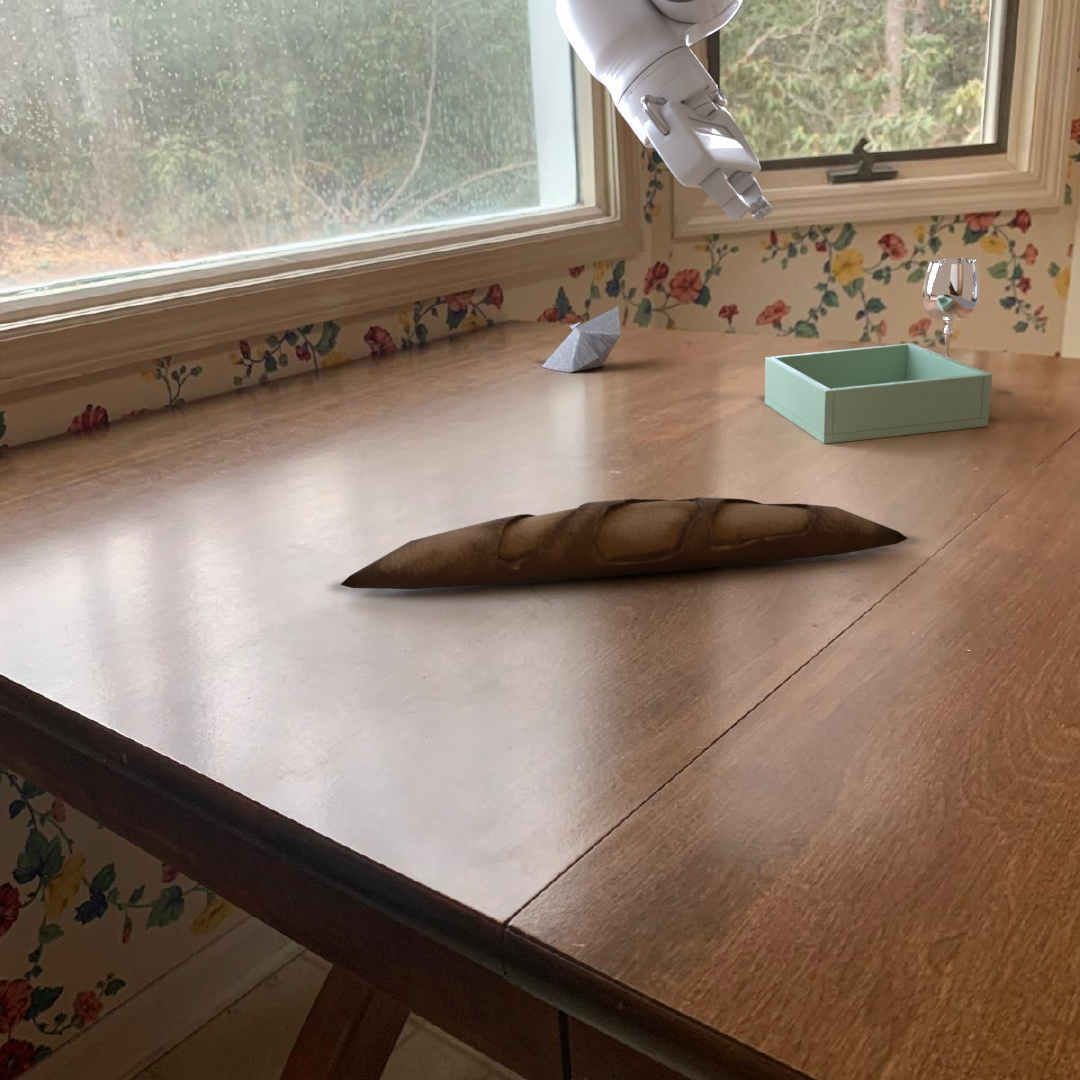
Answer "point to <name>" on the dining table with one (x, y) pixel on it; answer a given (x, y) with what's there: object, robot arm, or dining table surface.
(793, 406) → the bin
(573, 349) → the paper boat
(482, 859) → the dining table surface
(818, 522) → the bread
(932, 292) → the wineglass
